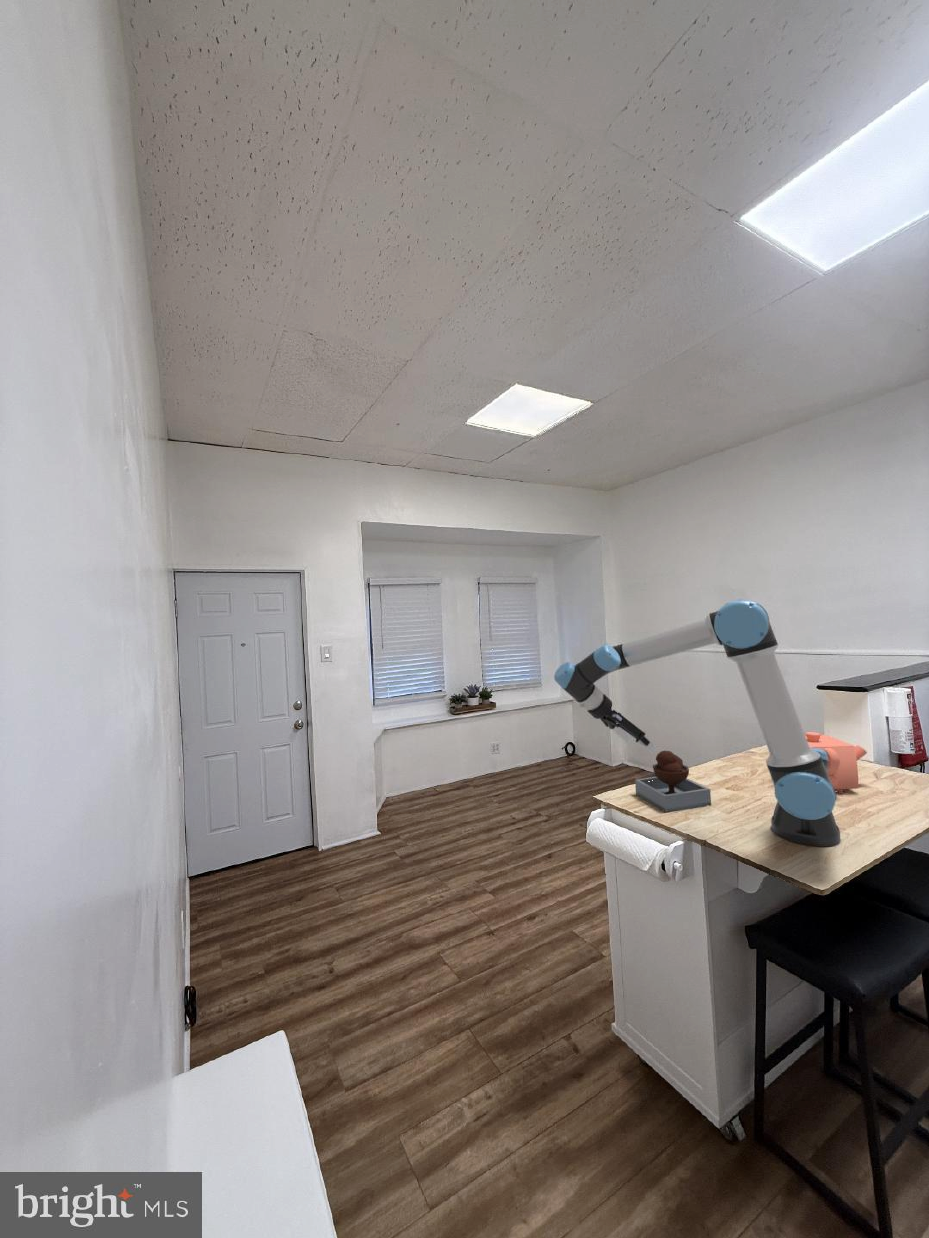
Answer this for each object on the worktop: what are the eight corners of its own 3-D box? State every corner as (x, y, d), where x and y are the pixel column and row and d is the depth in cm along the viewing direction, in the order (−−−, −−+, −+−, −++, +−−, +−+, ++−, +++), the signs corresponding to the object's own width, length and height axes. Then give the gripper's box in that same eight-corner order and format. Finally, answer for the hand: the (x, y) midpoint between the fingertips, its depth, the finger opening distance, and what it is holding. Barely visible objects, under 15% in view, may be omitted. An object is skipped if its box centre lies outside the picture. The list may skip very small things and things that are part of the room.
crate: (711, 805, 151) (710, 789, 151) (666, 812, 147) (665, 796, 147) (677, 788, 166) (676, 773, 166) (635, 794, 163) (635, 779, 163)
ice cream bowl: (687, 805, 149) (684, 757, 149) (649, 799, 156) (647, 752, 155) (694, 794, 158) (691, 748, 157) (658, 788, 164) (656, 744, 164)
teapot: (843, 773, 171) (841, 723, 171) (894, 798, 148) (891, 740, 148) (769, 775, 173) (766, 725, 173) (807, 799, 151) (804, 742, 151)
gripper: (570, 704, 162) (613, 744, 166) (608, 719, 138) (657, 765, 142) (583, 687, 164) (626, 727, 167) (624, 698, 139) (672, 745, 143)
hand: (640, 744), depth 154 cm, fingers open, 13 cm apart
